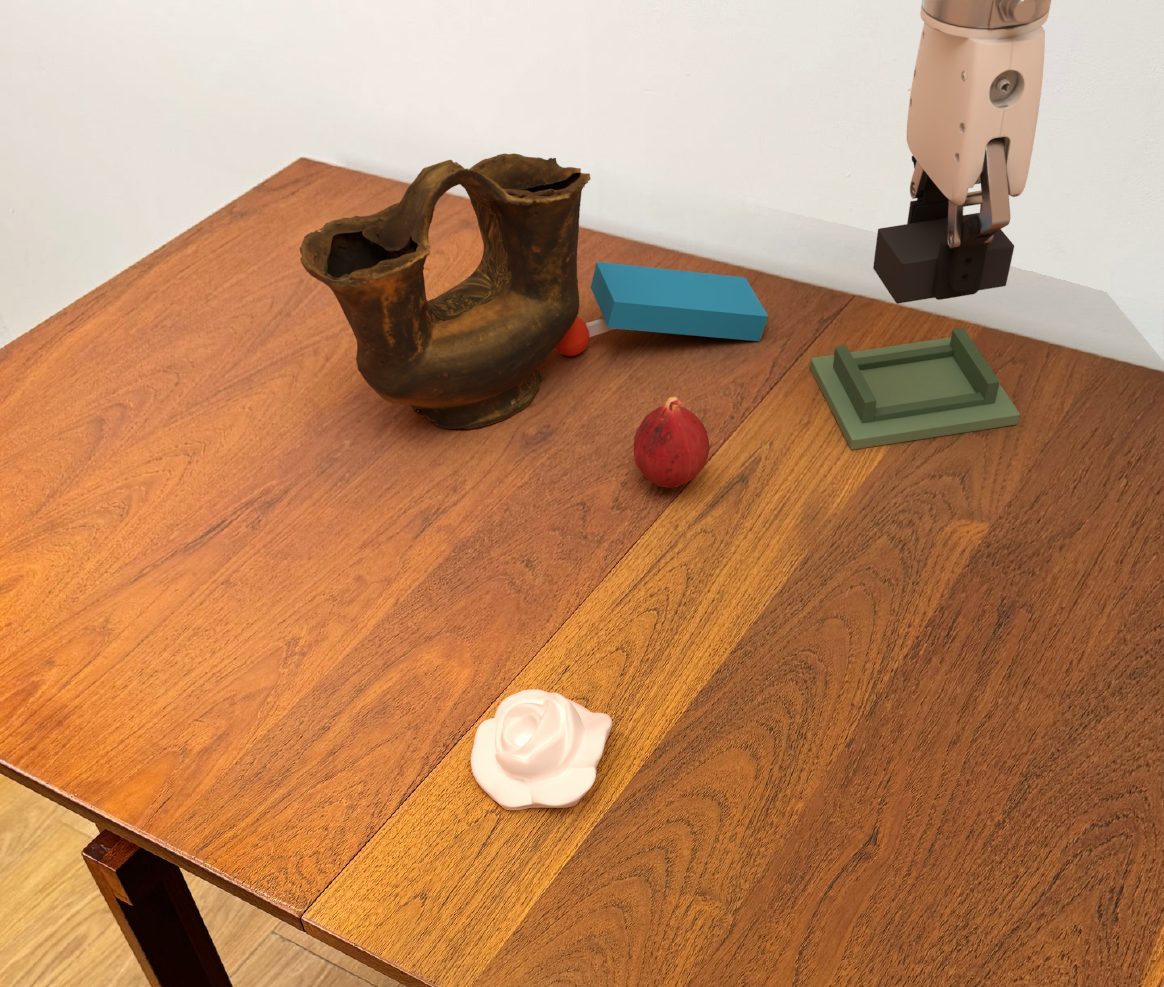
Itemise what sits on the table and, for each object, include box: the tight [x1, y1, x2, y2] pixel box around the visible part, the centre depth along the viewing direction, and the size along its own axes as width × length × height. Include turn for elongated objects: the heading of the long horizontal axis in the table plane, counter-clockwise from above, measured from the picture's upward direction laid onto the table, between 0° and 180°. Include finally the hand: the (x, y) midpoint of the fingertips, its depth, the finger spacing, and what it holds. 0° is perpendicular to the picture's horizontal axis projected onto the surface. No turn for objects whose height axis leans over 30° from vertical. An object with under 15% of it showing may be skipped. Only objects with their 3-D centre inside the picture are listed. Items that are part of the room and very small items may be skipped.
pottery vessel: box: [299, 153, 591, 430], centre depth 101 cm, size 25×11×20 cm, turn 129°
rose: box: [470, 688, 613, 811], centre depth 81 cm, size 10×4×10 cm
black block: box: [872, 212, 1015, 305], centre depth 88 cm, size 8×5×3 cm, turn 101°
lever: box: [555, 261, 769, 357], centre depth 112 cm, size 7×7×18 cm
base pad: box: [809, 327, 1021, 451], centre depth 104 cm, size 14×12×3 cm
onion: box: [633, 396, 711, 489], centre depth 96 cm, size 6×6×8 cm
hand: (940, 271), depth 89 cm, fingers closed on black block, 5 cm apart
